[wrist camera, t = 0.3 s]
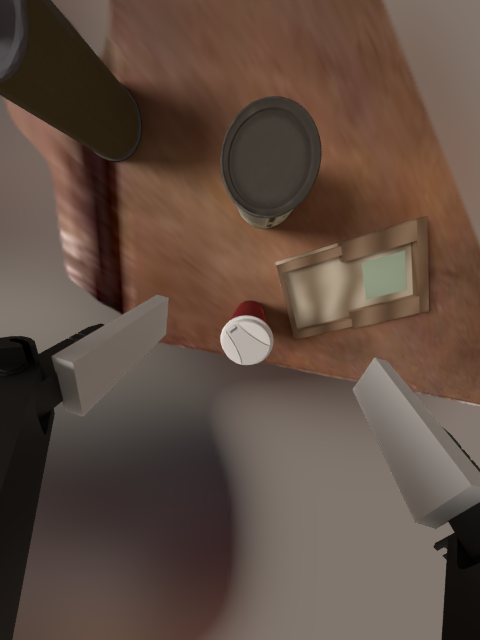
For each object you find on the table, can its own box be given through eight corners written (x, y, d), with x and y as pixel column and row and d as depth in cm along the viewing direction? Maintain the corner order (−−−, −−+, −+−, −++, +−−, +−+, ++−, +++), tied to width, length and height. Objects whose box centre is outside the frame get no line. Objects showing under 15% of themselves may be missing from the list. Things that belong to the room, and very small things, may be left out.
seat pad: (365, 299, 38) (366, 299, 37) (361, 262, 35) (361, 262, 35) (406, 289, 36) (407, 289, 36) (404, 250, 34) (405, 250, 34)
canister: (154, 116, 31) (-2, -82, 12) (122, 176, 34) (-40, 91, 16) (94, 56, 29) (-193, -279, 11) (66, 126, 33) (-192, -39, 14)
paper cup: (223, 310, 41) (207, 339, 28) (253, 287, 39) (250, 307, 26) (247, 338, 43) (242, 377, 30) (276, 317, 41) (285, 350, 28)
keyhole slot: (293, 338, 42) (295, 342, 40) (274, 262, 37) (275, 263, 35) (420, 307, 38) (428, 310, 36) (417, 218, 33) (427, 216, 31)
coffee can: (249, 146, 32) (243, 73, 18) (307, 175, 32) (342, 124, 19) (225, 214, 35) (206, 194, 22) (278, 238, 36) (291, 233, 22)
